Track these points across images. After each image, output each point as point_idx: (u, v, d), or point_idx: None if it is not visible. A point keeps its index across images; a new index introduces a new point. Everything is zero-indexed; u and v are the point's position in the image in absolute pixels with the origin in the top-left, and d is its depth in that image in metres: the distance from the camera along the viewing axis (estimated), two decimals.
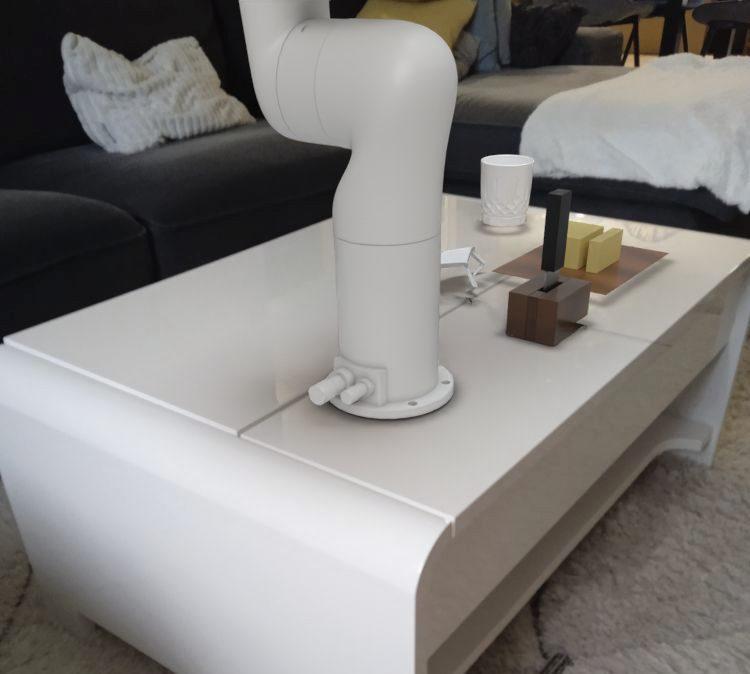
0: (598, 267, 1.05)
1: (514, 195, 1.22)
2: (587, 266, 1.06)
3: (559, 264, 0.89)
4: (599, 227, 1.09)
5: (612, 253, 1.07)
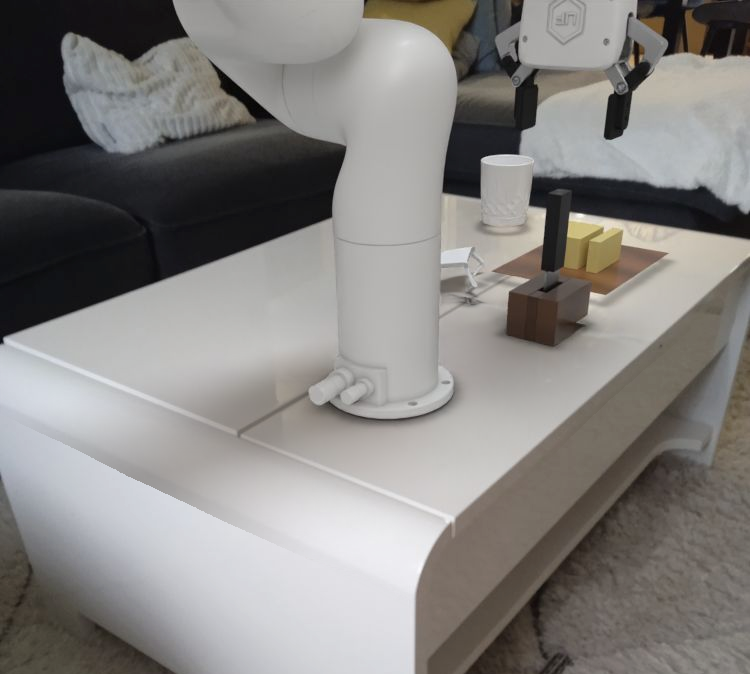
0: (598, 267, 1.05)
1: (514, 195, 1.22)
2: (587, 266, 1.06)
3: (559, 264, 0.89)
4: (599, 227, 1.09)
5: (612, 253, 1.07)
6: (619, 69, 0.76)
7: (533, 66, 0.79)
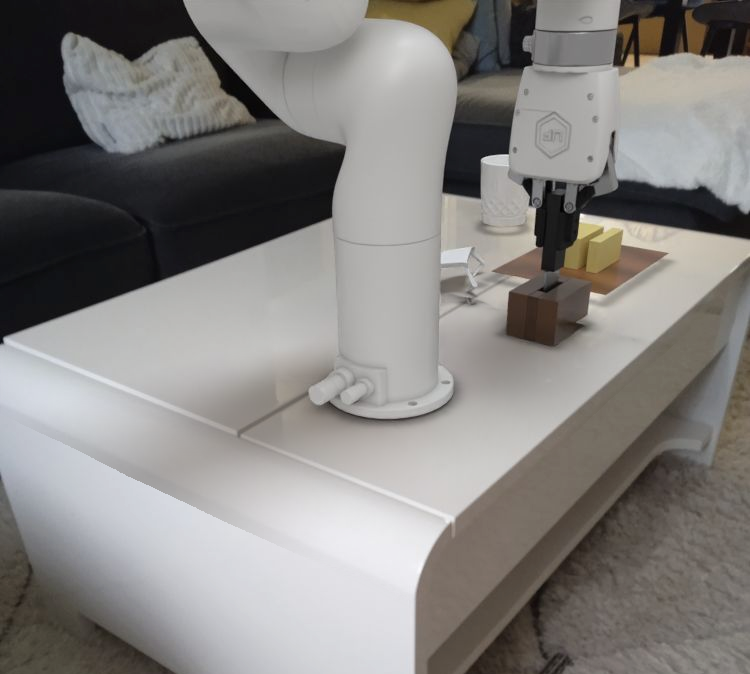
0: (598, 267, 1.05)
1: (514, 195, 1.22)
2: (587, 266, 1.06)
3: (559, 264, 0.89)
4: (599, 227, 1.09)
5: (612, 253, 1.07)
6: (577, 193, 0.83)
7: (522, 175, 0.84)
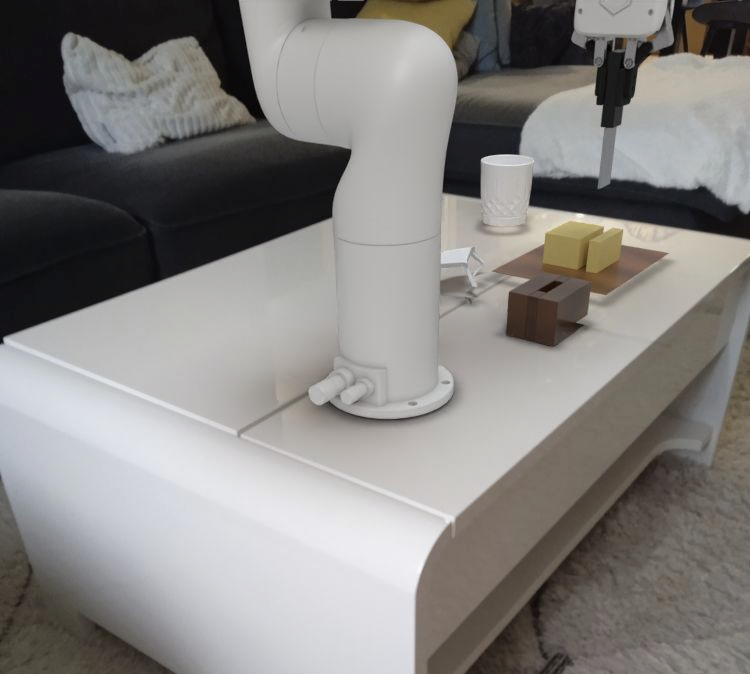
0: (598, 267, 1.05)
1: (514, 195, 1.22)
2: (587, 266, 1.06)
3: (617, 121, 0.99)
4: (599, 227, 1.09)
5: (612, 253, 1.07)
6: (636, 49, 0.93)
7: (587, 34, 0.94)
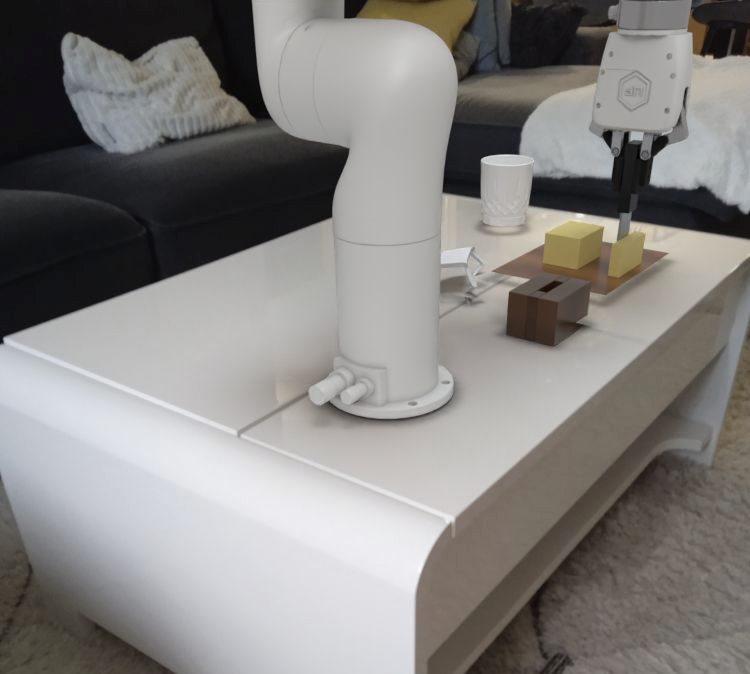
0: (620, 271, 1.04)
1: (514, 195, 1.22)
2: (609, 270, 1.04)
3: (633, 206, 1.02)
4: (599, 227, 1.09)
5: (634, 257, 1.06)
6: (652, 142, 0.96)
7: (604, 127, 0.97)
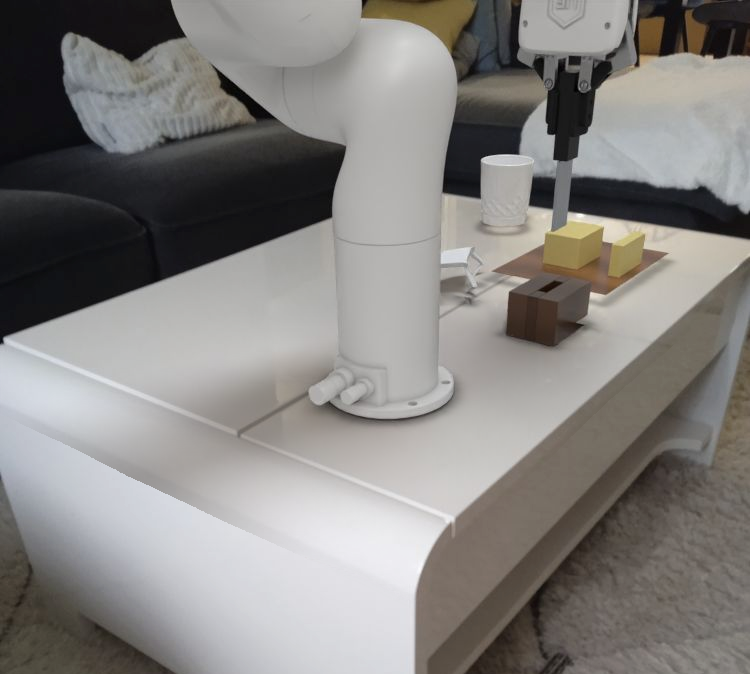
0: (620, 271, 1.04)
1: (514, 195, 1.22)
2: (609, 270, 1.04)
3: (573, 153, 0.83)
4: (599, 227, 1.09)
5: (634, 257, 1.06)
6: (592, 69, 0.77)
7: (533, 51, 0.78)
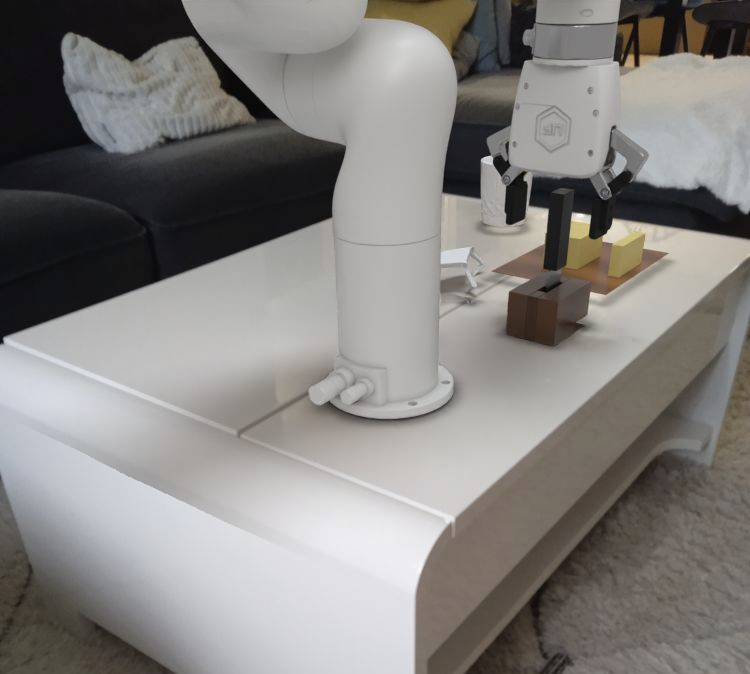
0: (620, 271, 1.04)
1: None
2: (609, 270, 1.04)
3: (562, 263, 0.89)
4: None
5: (634, 257, 1.06)
6: (603, 176, 0.80)
7: (522, 169, 0.84)
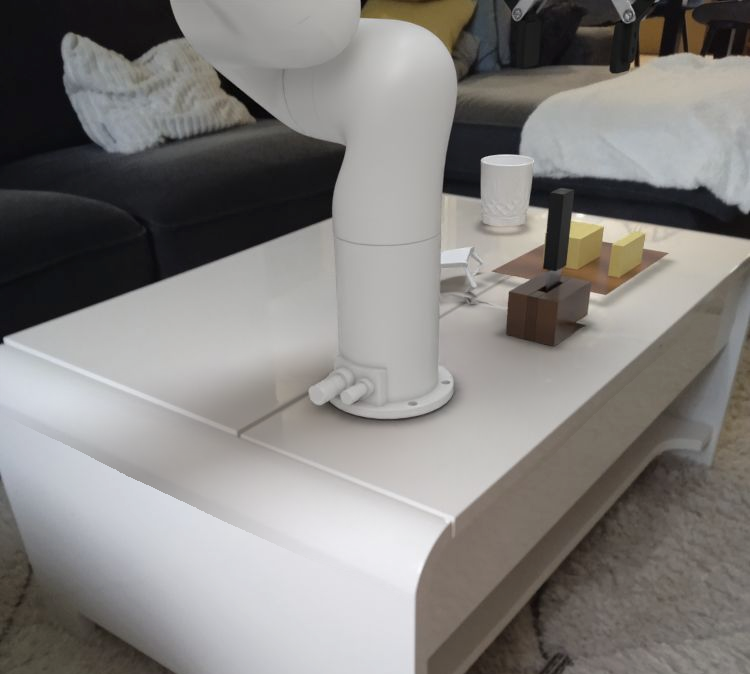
0: (620, 271, 1.04)
1: (514, 195, 1.22)
2: (609, 270, 1.04)
3: (562, 263, 0.89)
4: (599, 227, 1.09)
5: (634, 257, 1.06)
6: None
7: None
